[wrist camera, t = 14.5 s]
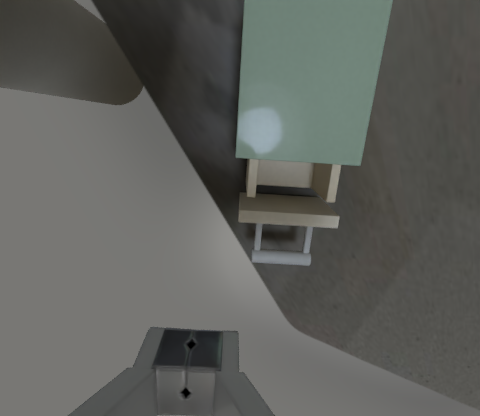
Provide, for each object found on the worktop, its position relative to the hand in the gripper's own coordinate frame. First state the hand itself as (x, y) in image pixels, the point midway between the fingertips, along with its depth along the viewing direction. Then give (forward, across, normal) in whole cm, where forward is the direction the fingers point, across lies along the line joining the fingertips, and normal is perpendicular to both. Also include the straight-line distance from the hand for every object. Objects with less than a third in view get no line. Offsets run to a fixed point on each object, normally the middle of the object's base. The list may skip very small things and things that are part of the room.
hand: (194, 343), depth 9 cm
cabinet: (+23, -6, -11) cm, 26 cm away
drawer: (+22, -7, -2) cm, 23 cm away
